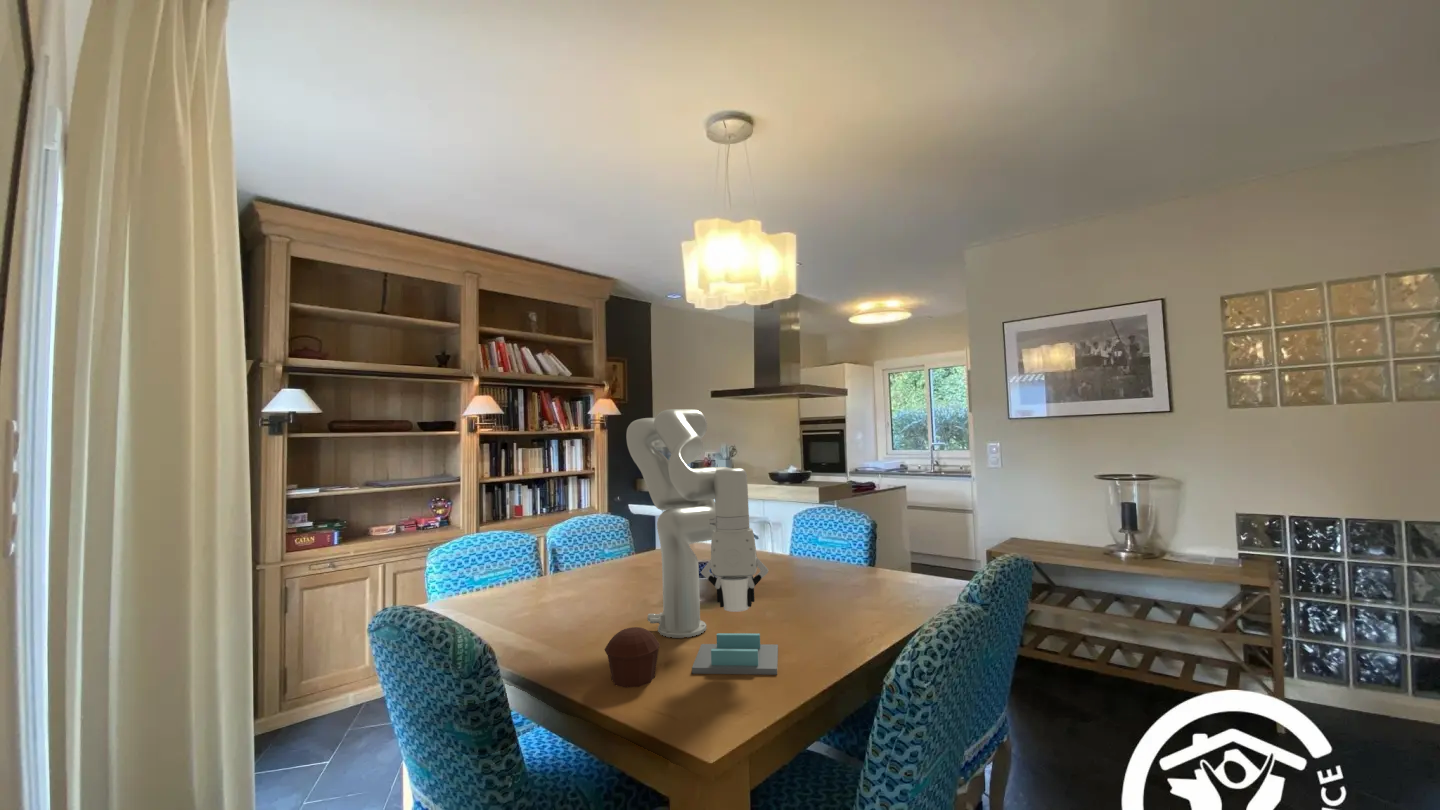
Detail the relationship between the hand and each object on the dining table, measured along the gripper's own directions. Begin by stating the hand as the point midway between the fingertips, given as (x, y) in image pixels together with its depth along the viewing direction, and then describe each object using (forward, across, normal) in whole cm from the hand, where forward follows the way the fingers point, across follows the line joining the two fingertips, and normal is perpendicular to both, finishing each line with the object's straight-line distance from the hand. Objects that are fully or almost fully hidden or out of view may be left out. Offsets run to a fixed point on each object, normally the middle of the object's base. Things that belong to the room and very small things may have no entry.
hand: (736, 604), depth 129 cm
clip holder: (+12, 0, 0) cm, 13 cm away
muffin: (+13, -21, -10) cm, 27 cm away
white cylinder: (+1, 0, 0) cm, 1 cm away
